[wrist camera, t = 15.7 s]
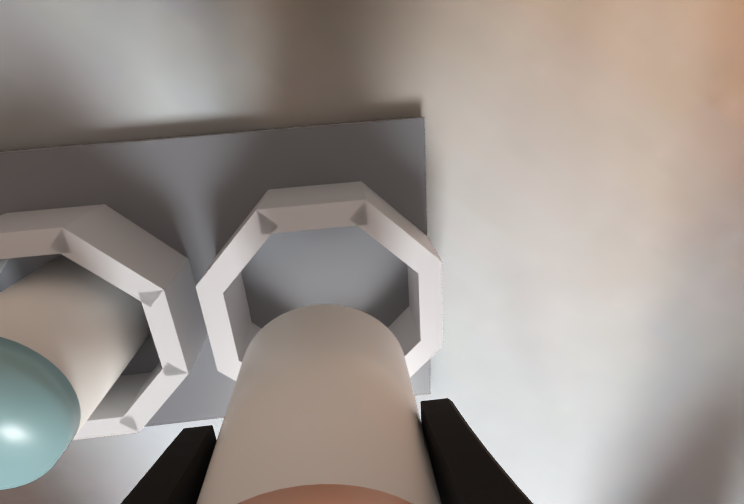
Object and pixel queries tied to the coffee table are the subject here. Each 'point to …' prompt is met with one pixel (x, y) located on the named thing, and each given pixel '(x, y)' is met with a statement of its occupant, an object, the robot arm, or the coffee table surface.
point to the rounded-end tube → (322, 418)
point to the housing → (230, 246)
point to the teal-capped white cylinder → (58, 361)
